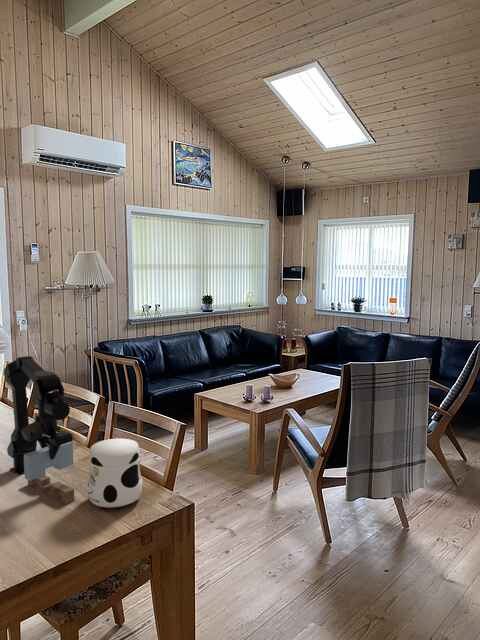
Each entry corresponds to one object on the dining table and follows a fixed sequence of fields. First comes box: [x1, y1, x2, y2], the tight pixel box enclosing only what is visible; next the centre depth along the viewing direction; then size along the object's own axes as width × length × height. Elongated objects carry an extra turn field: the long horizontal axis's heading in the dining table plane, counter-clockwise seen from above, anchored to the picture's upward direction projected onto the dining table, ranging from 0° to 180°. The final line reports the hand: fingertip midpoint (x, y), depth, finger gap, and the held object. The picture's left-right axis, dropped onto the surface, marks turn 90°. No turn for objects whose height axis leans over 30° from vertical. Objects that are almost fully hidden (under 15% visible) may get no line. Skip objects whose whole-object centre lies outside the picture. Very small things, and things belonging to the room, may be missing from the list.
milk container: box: [87, 437, 144, 509], centre depth 160 cm, size 17×17×18 cm
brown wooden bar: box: [27, 475, 75, 505], centre depth 165 cm, size 22×3×4 cm, turn 54°
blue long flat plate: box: [23, 441, 74, 481], centre depth 164 cm, size 3×16×8 cm, turn 144°
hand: (49, 458), depth 164 cm, fingers closed on blue long flat plate, 3 cm apart
